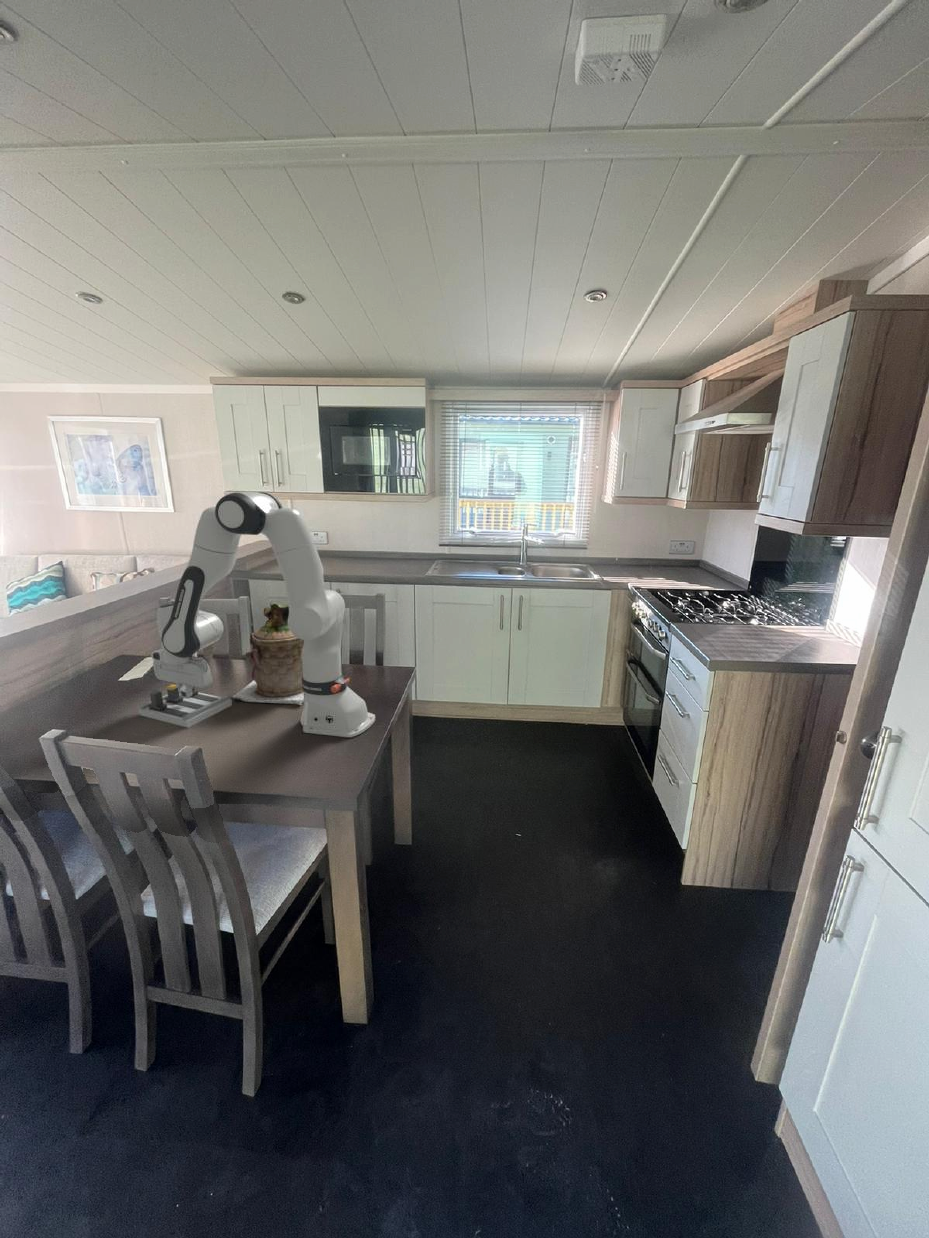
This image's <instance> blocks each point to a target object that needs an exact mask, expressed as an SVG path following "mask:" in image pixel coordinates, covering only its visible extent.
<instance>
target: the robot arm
mask: <svg viewBox="0 0 929 1238" xmlns="http://www.w3.org/2000/svg"><path fill="white" fill-rule="evenodd" d="M260 534H261V535H264V537H266V538H267V539H268V541H269V542H270V543H269V544H270V545H271V548H272V551H273V554H274V557H275V558H276V561H277V564H278V567H279V569H280V573H281V575H282V577H283V580H284V586H285V590H286V598H287V604H288V606H289V617H288V626H289V629H290V631H291V632H292V634H293V635H295V636H296V637H297V638H299V639H302V640H304V645H303V648H302V652H301V656H302V669H303V676H302V690H303V691H304V702H302V713H301V716H300V720H299V721H300V724H301V726H302V732H303V733H306V734H316V735H323V736H324V735H325V736H332V737H333V736H334V737H341V738H353V737H356V736H358V735H361V734H362V733H364V732H365V731H366V730H368V729H369V728H370V727H372V725H374V723H375V721H376V714H373V713H371V712H368V707H367V704H366V701H365V700H364V699H363V698H362V697H361V696H359V695H358V694H357V693H356V692H354V691H353V690H352V689H351V688H350V687H349V686H348V683H350V679H351V678H350V677H348V678H346V679H345V676H344V673H343V672H342V659H341V658H342V654H341V650H342V649H341V647H342V638H343V637H342V635H343V626H344V615H345V609H346V601H345V600H344V598H343V596H342V595H341V594H340V593H338V591H336V590H332V589H326V588H325V580H324V572H325V571H324V566H323V564H322V561H321V558H320V555H319V552H318V549H317V547H316V544H315V541H314V538H313V536H312V532H311V531H310V528H309V527H308V525H307V523H306V521H305V519H304V517H303V516H302V514H301V513H300V512H299V511H298V510H297V509H294V508H291V507H283V505H282V504H281V502H280V501H279V500H278V498H276V497H275V496H274V495H273V494H270V493H268V492H267V493H266V492H262V491H260V492H256V491H240V492H231V493H228V494H226V495H224V496H222V497H221V498H220V499H219V500H218V501H217V503H216V505H215V506H211V507H207V508H205V509H204V510H203V511H202V512H201V515H200V517H199V520H198V522H197V526H196V530H195V534H194V539H193V545H192V550H191V554H190V557H189V560H188V563H187V565H186V568H185V570H184V571H183V574H182V576H181V579H180V581H179V584H178V588H177V590H176V595H175V598H174V601H173V602H169V603H165V604H162V605H160V606H159V607H158V609H157V611H156V612H157V613H156V614H157V615H156V622H157V629H158V634H159V636H160V638H161V644H160V645H161V648H160V649H158V650H155V651H152V652H151V653H150V657H151V659H152V660H153V661H152V663H153V664H152V666H153V671H154V675H155V677H156V678H157V680H160V681H166V682H169V683H170V682H171V683H174V684H175V685H176V686H177V687H178V690H180V694H181V696H186V697H190V696H192V689H193V687H194V688H200V689H205V688H207V687H209V686H211V685H212V684H213V681H214V680H213V675H212V672H211V668H210V666H209V664H208V662H207V661H206V660H205V659H204V658H203V657H201V656H198V652H199V651H200V650H203V649H205V648H207V647H208V646H210V645H212V644H214V643H216V642H218V641H219V640H221V639H222V638H223V636H224V634H225V625H224V622H223V620H222V619H221V618H220V616H219V615H217V614H215V613H214V612H207V611H204V610H201V605H202V601H203V598H204V596H205V595H206V593H207V592H208V591H209V590H210V589H211V588H212V587H213V586H215V585H216V584H217V583H218V582H220V581H221V580H222V579H224V578H225V577H227V576H228V575H229V574H231V572H233V569H234V566H235V564H236V561H237V557H238V551H239V550H238V549H239V544H240V543H239V542H240V540H241V539H240V538H241V537H242V535H245V536H247V535H251V536H253V535H254V536H258V535H260Z"/></svg>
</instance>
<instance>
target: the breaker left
mask: <svg viewBox="0 0 929 1238" xmlns="http://www.w3.org/2000/svg"><path fill="white" fill-rule="evenodd" d="M162 693H163V692H162V691H159V690H156V691H153V692H151V693H149V696H150V702H151V703H152V704H149V707H150V708H154V709H158V710H162V709H164V708H167V705H166V704H163V699H162V696H163V694H162Z"/></svg>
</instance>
